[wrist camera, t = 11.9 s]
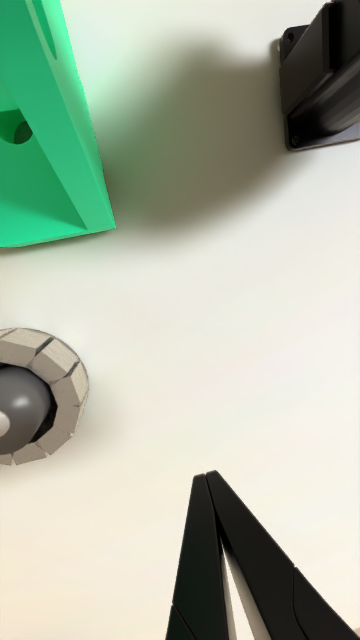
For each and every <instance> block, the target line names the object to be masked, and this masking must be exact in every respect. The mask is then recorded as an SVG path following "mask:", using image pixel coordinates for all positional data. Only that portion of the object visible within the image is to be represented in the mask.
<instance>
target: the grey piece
mask: <svg viewBox="0 0 360 640" xmlns="http://www.w3.org/2000/svg"><path fill="white" fill-rule="evenodd" d="M2 363H8V364H12V365H17V366H21V367H26V368H29V369H30V370H31V371H33V372H34V373H35V374H36V375H38V376H39V377H40V378H42V379H43V380H44V381H45V382H47V383H48V384H49V385H50V387H51V390H52V392H53V395H54V397H55V400H56V401H55V403H54V404H53V406H52V408H51V409H50V411H49V412H48V414H47V415H46V417H45V419H44V420H43V422H42V423H41V425H40V426H39V428H38V430H37V431H36V433H35V434H34V436H33V437H32V439H31V440H30V442H29V443H28V444H27V445H26V446H24V447H23V448H21V449H20V450H18V451H16V452H13V453H10V454H5V455H0V464H6V465H12V463H13V462H15V464H16V465H19V464H22V463H26V462H30V461H34V460H38V459H42V458H46V457H47V455H48V454H49V455H51V454H53V453H54V452H55V451H56V450H57V449H58V448H59V447H61V446H62V445H63V444H64V443H65V442H66V441H67V440H69V439H70V438H71V437H72V435H73V433H74V432H75V429H76V427H77V425H78V422H79V420H80V417H81V415H82V413H83V410H84V406H85V402H86V400H87V396H88V391H89V383H88V376H87V372H86V369H85V367H84V365H83V363H82V361H81V360H80V358H79V357H78V355H77V354H76V353H75V352H74V351H73V350H72V349H71V348H70V347H69V346H68V345H67V344H65V343H64V342H63V341H61V340H59V339H58V338H56V337H54V336H52V335H50V334H48V333H45V332H42V331H38V330H34V329H27V328H10V329H3V330H0V365H1V364H2Z"/></svg>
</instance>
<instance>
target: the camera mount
mask: <svg viewBox="0 0 360 640" xmlns="http://www.w3.org/2000/svg"><path fill="white" fill-rule="evenodd" d="M25 121H27V123H28V125H29V126H30V128H31V130H32V132H33V134H32V136H31V138H30V139H29V140H28V141H26V142H25V143H22V144H15V139H14V135H15V131H16V128H17V127H18V126H19V125H20V124H21V123H23V122H25ZM103 172H104V170H103V166H102V162H101V158H100V154H99V150H98V146H97V142H96V138H95V134H94V130H93V126H92V122H91V118H90V114H89V110H88V106H87V102H86V98H85V93H84V89H83V86H82V83H81V81H80V78H79V75H78V71H77V67H76V63H75V59H74V55H73V51H72V47H71V43H70V39H69V35H68V31H67V27H66V23H65V19H64V15H63V11H62V7H61V3H60V0H0V247H11V248H16V247H22V246H27V245H32V244H38V243H43V242H48V241H54V240H59V239H64V238H69V237H75V236H80V235H85V234H91V233H96V232H101V231H106V230H112V229H117V228H116V224H115V220H114V216H113V212H112V208H111V204H110V200H109V196H108V192H107V188H106V184H105V180H104V176H103Z"/></svg>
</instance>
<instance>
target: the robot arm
mask: <svg viewBox="0 0 360 640" xmlns="http://www.w3.org/2000/svg"><path fill="white" fill-rule="evenodd" d="M287 38H289V39H290V42H291V43H289V42H288V41H287ZM279 45H280V61H281V67H280V69H279V72H280V88H281V104H282V114H283V115H284V126H285V143H286V147H287V149H288V150H289V151H296V150H301V149H307V148H312V147H318V146H323V145H328V144H334V143H339V142H345V141H350V140H355V139H360V0H331V2H327V3H325V4H324V5H323V7H322V8H321V9H320V11H319V12H318V14H317V15H316V17H315V18H314V19H313V21H312V22H311V24H310V25H303V26H296V27H290V28H287V29H286V30H285V32H284V33H283V35H282V37H281V39H280V44H279ZM292 139H295V141H296V144H293V142H292ZM221 542H222V543H221ZM222 546H223V547H222ZM223 549H224V552H223ZM224 553H225V556H226V559H227V562H228V565H229V567H230V570H231V573H232V576H233V579H234V582H235V585H236V588H237V590H238V593H239V596H240V599H241V602H242V605H243V608H244V610H245V613H246V616H247V619H248V622H249V625H250V628H251V630H252V633H253V636H254V639H255V640H360V637H359V636H358V635H357V634H356V633H355V632H354V631H353V630H352V629H351V628H350V627H349V626H348V625H347V624H346V623H345V621H344V620H343V619H342V618H341V617H340V616H339V615H338V614H337V613H336V612H335V611H334V610H333V609H332V608H331V607H330V606H329V604H328V603H327V602H326V601H325V600H324V599H323V598H322V596H321V595H320V594H319V593H318V592H317V591H316V589H315V588H314V587H313V586H312V585H311V584H310V583H309V581H308V580H307V579H306V578H305V577H304V575H303V574H302V573H301V572H300V570H299V569H298V568H297V567H295V566H294V563H293V562H292V561H291V560H290V559H289V557H288V556H287V555H286V554H285V552H284V551H283V550H282V549H281V548H280V546H279V545H278V544H277V543H276V542H275V540H274V539H273V538H272V537H271V536H270V534H269V533H268V532H267V531H266V529H265V528H264V527H263V526H262V525H261V523H260V522H259V521H258V520H257V519H256V517H255V516H254V515H253V514H252V512H251V511H250V510H249V509H248V508H247V506H246V505H245V504H244V503H243V502H242V500H241V499H240V498H239V497H238V495H237V494H236V493H235V492H234V491H233V489H232V488H231V487H230V486H229V485H228V483H227V482H226V481H225V480H224V479H223V477H222V476H221V475H220V474H219V472H218V471H216V470H214V471H210V472H207V473H206V475H205V474H199V475H195V476H194V478H193V482H192V488H191V494H190V500H189V506H188V512H187V518H186V523H185V529H184V535H183V541H182V547H181V553H180V559H179V565H178V570H177V576H176V582H175V588H174V594H173V600H172V603H173V605H172V606H171V611H170V616H169V622H168V628H167V633H166V638H165V640H237V637H236V631H235V624H234V617H233V611H232V604H231V597H230V591H229V584H228V577H227V571H226V564H225V558H224Z"/></svg>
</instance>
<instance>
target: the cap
mask: <svg viewBox="0 0 360 640" xmlns="http://www.w3.org/2000/svg"><path fill="white" fill-rule="evenodd" d="M55 401H56V400H55V397H54V395H53V392H52V390H51V387H50V385H49V384H48V383H47V382H45V381H44V380H43V379H42V378H40V377H39V376H38V375H36V374H35V373H34V372H33V371H31V370H30V369H29V368H26V367H21V366H17V365H12V364H8V363H2V364H1V365H0V455H5V454H10V453H13V452H16V451H18V450H20V449H21V448H23V447H24V446H26V445H27V444H28V443H29V442H30V440H31V439H32V437H33V436H34V434H35V433H36V431H37V430H38V428H39V426H40V425H41V423H42V422H43V420H44V419H45V417H46V415H47V414H48V412H49V411H50V409H51V408H52V406H53V404H54V403H55Z"/></svg>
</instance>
